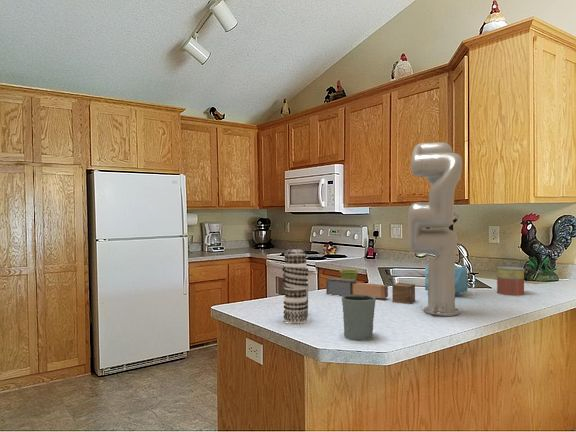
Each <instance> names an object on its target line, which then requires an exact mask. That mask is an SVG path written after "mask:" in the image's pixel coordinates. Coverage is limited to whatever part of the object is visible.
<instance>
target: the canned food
mask: <svg viewBox="0 0 576 432" xmlns="http://www.w3.org/2000/svg"><path fill="white" fill-rule="evenodd" d="M496 276H497V277H496V284H497V285H496V294H498V295H502V296H510V297H511V296H512V297H522V296H524V295H525V268H524V267H519V266H509V265H508V266H506V265H505V266H497V267H496Z"/></svg>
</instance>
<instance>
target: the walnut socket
mask: <svg viewBox="0 0 576 432" xmlns="http://www.w3.org/2000/svg"><path fill="white" fill-rule="evenodd" d="M391 287H392V288H391V289H392V291H391V293H392V296H391V297H392V299H391V300H392V303H397V304H405V305H412V304H413V303H414V302H416V284H415V283H406V282H405V283H404V282H403V283H402V282H397V283H395V284H392V286H391Z"/></svg>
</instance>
